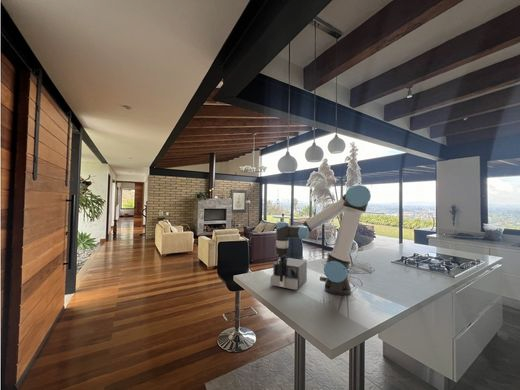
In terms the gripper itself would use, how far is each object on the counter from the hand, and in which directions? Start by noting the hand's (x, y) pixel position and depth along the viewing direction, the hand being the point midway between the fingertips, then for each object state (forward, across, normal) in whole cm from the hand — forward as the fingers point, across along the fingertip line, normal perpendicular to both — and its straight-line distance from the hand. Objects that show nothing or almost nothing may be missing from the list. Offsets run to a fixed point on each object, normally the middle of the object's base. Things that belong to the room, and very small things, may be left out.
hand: (281, 286), depth 133 cm
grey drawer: (+1, -13, 0) cm, 13 cm away
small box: (0, -16, 0) cm, 16 cm away
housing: (+2, -16, 0) cm, 16 cm away
